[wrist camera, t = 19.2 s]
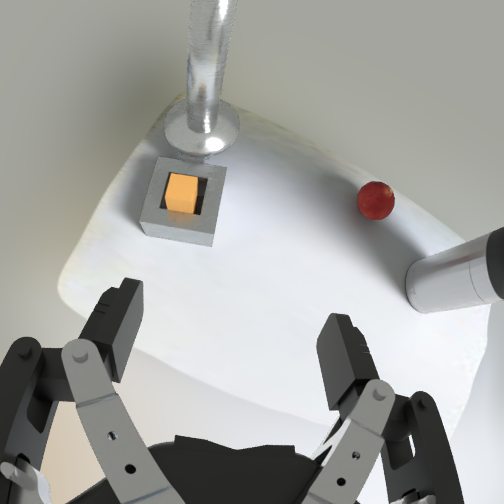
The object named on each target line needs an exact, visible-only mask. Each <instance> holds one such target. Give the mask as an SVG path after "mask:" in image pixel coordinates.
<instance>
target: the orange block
mask: <svg viewBox="0 0 504 504" xmlns="http://www.w3.org/2000/svg"><path fill="white" fill-rule="evenodd" d="M197 183H198V177H193V176H187V175H180V174H173V173H171V176H170V180H169V183H168V187H167V191H166V195H165V200H166V205H167V209H168V210H172V211H178V212H184V213H190V214H196V210H197Z"/></svg>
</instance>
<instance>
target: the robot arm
mask: <svg viewBox="0 0 504 504" xmlns="http://www.w3.org/2000/svg"><path fill="white" fill-rule="evenodd" d="M406 292H407V296H408V299H409V301H410V303H411V305H412V306H413V307H414V308H415V309H416V310H417V311H419V312H421V313H432V312H440V311H447V310H454V309H460V308H467V307H473V306H478V305H484V304H489V303H494V302H499V301H504V227H502V228H500V229H497V230H495V231H493V232H490V233H488V234H485V235H483V236H481V237H478V238H476V239H474V240H471V241H469V242H466V243H464V244H461V245H458V246H456V247H453V248H451V249H448V250H445V251H443V252H440V253H438V254H435V255H432V256H429V257H427V258H424V259H421V260H419V261H416V262H415V263H413V264H412V265H411V267H410V268H409V270H408V272H407V276H406ZM142 317H143V281H140V280H135V279H131V278H124V280H123V282H122V283H121V285H120V287H119V288H114V287H111V288H109V289H108V290H107V291H105V292H104V293H103V294H102V296H101V297H100V299H99V301H98V304H96V306H95V308H94V311H92V313H91V315H90V317H89V319H88V321H87V323H86V325H85V326H84V328H83V330H82V332H81V334H80V336H79V337H78V339H75V340H72V341H70V342H68V343H67V344H66V345H65V346H64V348H41V345H40V343H39V342H38V341H37V340H36V339H34V338H32V337H22V338H19V339H17V340H16V341H15V342H14V343H13V344H12V345H11V347H10V349H9V350H8V352H7V354H6V356H5V358H4V360H3V362H2V364H1V366H0V504H53V503H52V502H51V498H50V486H49V483H48V481H47V479H46V478H45V476H44V475H43V474H42V473H40V467H41V463H42V459H43V455H44V451H45V447H46V443H47V440H48V436H49V432H50V429H51V425H52V422H53V419H54V416H55V412H56V409H57V406H58V403H59V401H68V402H75V403H76V409H77V412H78V415H79V418H80V420H81V423H82V425H83V428H84V430H85V433H86V435H87V437H88V440H89V442H90V444H91V447H92V449H93V451H94V453H95V455H96V457H97V460H98V461H99V464H100V465H101V468H102V469H103V472H104V473H105V476H106V477H105V478H104V479H102V480H101V481H99V482H98V483H96V484H95V485H93V486H92V487H91V488H89V489H88V490H86V491H85V492H83V493H81V494H80V495H78V496H77V497H75V498H74V499H72V500H71V501H69V502H67V503H66V504H360V503H359V502H358V501H357V500H356V499H357V497H358V495H359V494H360V492H361V490H362V488H363V486H364V484H365V482H366V480H367V478H368V476H369V474H370V472H371V470H372V468H373V466H374V464H375V462H376V459H377V457H378V455H379V453H380V452H381V458H382V463H383V469H384V475H385V480H386V487H387V494H388V501H389V504H464V500H463V495H462V491H461V486H460V482H459V478H458V474H457V470H456V466H455V463H454V460H453V455H452V452H451V449H450V445H449V442H448V439H447V435H446V432H445V429H444V426H443V423H442V420H441V417H440V414H439V411H438V409H437V406H436V403H435V401H434V399H433V398H432V397H431V396H430V395H429V394H428V393H426V392H423V391H418V392H415V393H414V394H413V395H412V396H411V397H410V398H409V397H405V396H401V395H397V394H395V393H394V390H393V389H392V387H391V386H390V385H389V384H388V383H386V382H385V381H383V380H380V378H379V375H378V373H377V370H376V367H375V364H374V362H373V359H372V356H371V354H370V351H369V348H368V347H367V343H366V340H365V338H364V335H363V334H362V333H361V332H360V331H359V329H358V328H357V327H353V325H352V322H351V320H350V317H349V316H348V315H345V314H337V313H331V314H330V315H329V317H328V319H327V321H326V323H325V325H324V327H323V329H322V331H321V333H320V335H319V337H318V339H317V345H316V348H317V354H318V358H319V363H320V368H321V372H322V377H323V382H324V386H325V391H326V396H327V401H328V406H329V410H339V413H340V415H339V416H338V417H337V419H336V421H335V422H334V424H333V425H332V427H331V429H330V430H329V432H328V433H327V435H326V437H325V438H324V440H323V441H322V443H321V444H320V446H319V447H318V449H317V450H316V451H315V452H314V453H313V455H312V456H311V457H310V458H308V457H306V456H304V455H301V454H299V453H295V447H294V445H291V446H290V445H263V446H258V447H252V448H247V449H240V450H235V449H231V448H228V447H225V446H222V445H219V444H216V443H213V442H211V441H208V440H204V439H197V438H191V437H185V436H178V435H175V440H174V442H165V443H159V444H155V445H152V446H150V447H146V445H145V444H144V442H143V440H142V439H141V437H140V435H139V433H138V432H137V429H136V428H135V426H134V424H133V422H132V420H131V418H130V416H129V414H128V412H127V410H126V409H125V406H124V405H123V403H122V400H121V398H120V397H119V395H118V394H117V393H116V391H115V390H114V387H113V385H112V381H113V382H117V383H120V381H121V379H122V375H123V373H124V370H125V367H126V364H127V360H128V357H129V355H130V352H131V349H132V346H133V343H134V341H135V338H136V335H137V332H138V330H139V327H140V324H141V321H142ZM410 435H412V439H413V443H414V447H415V456H414V457H413V453H412V449H411V445H410V441H409V437H408V436H410Z"/></svg>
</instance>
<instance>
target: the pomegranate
mask: <svg viewBox="0 0 504 504" xmlns="http://www.w3.org/2000/svg"><path fill="white" fill-rule="evenodd" d="M394 203H395V197H394V193H393V190H392V189H391V188H390V187H389V186H388V185H387V184H385V183H382V182H375V181H372V182H369V183H367V184H366V185H364V186H363V187H362V188H361V189H360V191H359V194H358V200H357V204H358V207H359V210H360V211H361V213H362V214H363V215H364V216H365V217H366V218H369V219H371V220H381V219H384V218H385V217H387V216H388V215H389V214H390V213H391V211H392V209H393V207H394Z"/></svg>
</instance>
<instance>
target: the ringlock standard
mask: <svg viewBox="0 0 504 504" xmlns="http://www.w3.org/2000/svg"><path fill="white" fill-rule="evenodd" d="M236 6H237V0H191V5H190V20H189V37H188V60H187V98H186V99H184V100H182V101H180V102H178V103H176V104H175V105H174V106H173V107H172V108H171V109H170V110H169V111H168V113H167V114H166V117H165V120H164V132H165V136H166V139H167V141H168V142H169V144H170V145H171V146H172V147H173V148H175V149H176V150H177V151H179V152H181V153H182V154H181V157H180V158H181V160H179V159H173V158H166V157H159V156H158V158H157V161H156V165H155V168H154V171H153V174H152V177H151V181H150V184H149V187H148V191H147V194H146V198H145V201H144V205H143V208H142V212H141V216H140V220H139V222H140V224H141V226H142V228H143V230H144V232H145V234H146V235H147V236H152V237H158V238H164V239H169V240H175V241H181V242H187V243H192V244H198V245H204V246H209V247H212V244H213V238H214V233H215V227H216V222H217V216H218V211H219V206H220V200H221V195H222V190H223V185H224V180H225V175H226V170H227V167H221V166H216V165H210V164H205V160H207V159H209V158H210V157H211V156H212V155H215V154H218V153H221V152H223V151H224V150H226V149H227V148H229V147H230V146H231V145H232V144H233V142H234V141H235V139H236V137H237V135H238V131H239V125H240V123H239V117H238V115H237V113H236V111H235V110H234V109H233V108H232V107H231V106H230V105H229V104H228V103H226V102H225V101H223V100H221V99H220V97H221V91H222V85H223V77H224V71H225V66H226V60H227V53H228V48H229V43H230V37H231V32H232V26H233V21H234V16H235V10H236ZM171 173H173V174H180V175H187V176H193V177H198V183H197V195H199V196H204V200H203V205H202V210H201V214H200V215H196V214H190V213H184V212H178V211H172V210H167V205H166V200H165V195H166V191H167V187H168V183H169V180H170V176H171Z"/></svg>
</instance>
